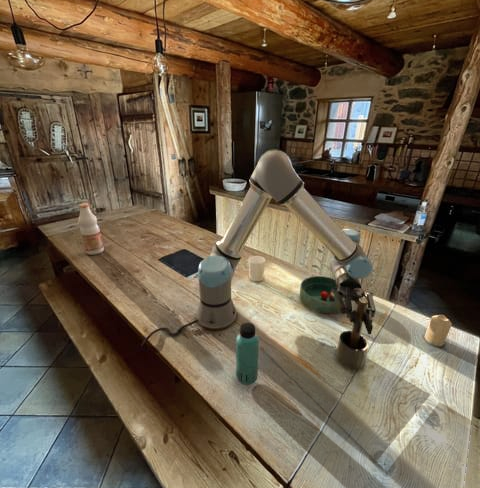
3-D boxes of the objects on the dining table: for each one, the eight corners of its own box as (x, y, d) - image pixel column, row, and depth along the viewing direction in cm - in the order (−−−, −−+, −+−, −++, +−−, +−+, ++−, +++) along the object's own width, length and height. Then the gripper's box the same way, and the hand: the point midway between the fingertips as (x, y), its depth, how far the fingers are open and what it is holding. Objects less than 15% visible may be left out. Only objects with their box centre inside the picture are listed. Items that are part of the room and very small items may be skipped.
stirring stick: (351, 362, 82) (364, 304, 73) (344, 357, 84) (356, 299, 75) (355, 358, 84) (369, 301, 75) (349, 353, 85) (361, 296, 76)
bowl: (326, 322, 100) (329, 309, 98) (289, 296, 114) (291, 285, 112) (356, 303, 110) (359, 291, 108) (319, 282, 125) (320, 271, 122)
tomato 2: (332, 299, 110) (333, 292, 110) (328, 298, 112) (328, 291, 113) (338, 299, 111) (339, 292, 111) (334, 298, 113) (334, 291, 114)
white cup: (263, 283, 124) (264, 264, 120) (246, 281, 125) (247, 262, 121) (265, 274, 131) (266, 256, 127) (249, 272, 133) (249, 255, 128)
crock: (353, 375, 79) (358, 355, 76) (330, 357, 85) (334, 338, 82) (368, 362, 83) (374, 342, 80) (346, 345, 89) (350, 327, 86)
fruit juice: (82, 253, 151) (69, 205, 140) (96, 246, 159) (85, 201, 148) (94, 256, 148) (82, 207, 137) (107, 249, 156) (97, 203, 144)
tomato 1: (329, 292, 110) (328, 299, 110) (328, 291, 113) (327, 299, 113) (321, 291, 111) (321, 298, 110) (320, 290, 114) (320, 298, 113)
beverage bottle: (256, 369, 81) (258, 317, 72) (259, 390, 74) (261, 335, 66) (235, 370, 80) (235, 318, 72) (235, 390, 74) (235, 336, 66)
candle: (425, 332, 95) (433, 310, 91) (444, 339, 92) (453, 316, 88) (423, 341, 91) (431, 318, 87) (442, 349, 88) (452, 325, 84)
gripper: (368, 293, 94) (391, 343, 72) (323, 289, 96) (333, 336, 75) (372, 275, 91) (398, 322, 69) (326, 271, 93) (337, 315, 72)
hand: (364, 329), depth 72 cm, fingers closed on stirring stick, 2 cm apart
